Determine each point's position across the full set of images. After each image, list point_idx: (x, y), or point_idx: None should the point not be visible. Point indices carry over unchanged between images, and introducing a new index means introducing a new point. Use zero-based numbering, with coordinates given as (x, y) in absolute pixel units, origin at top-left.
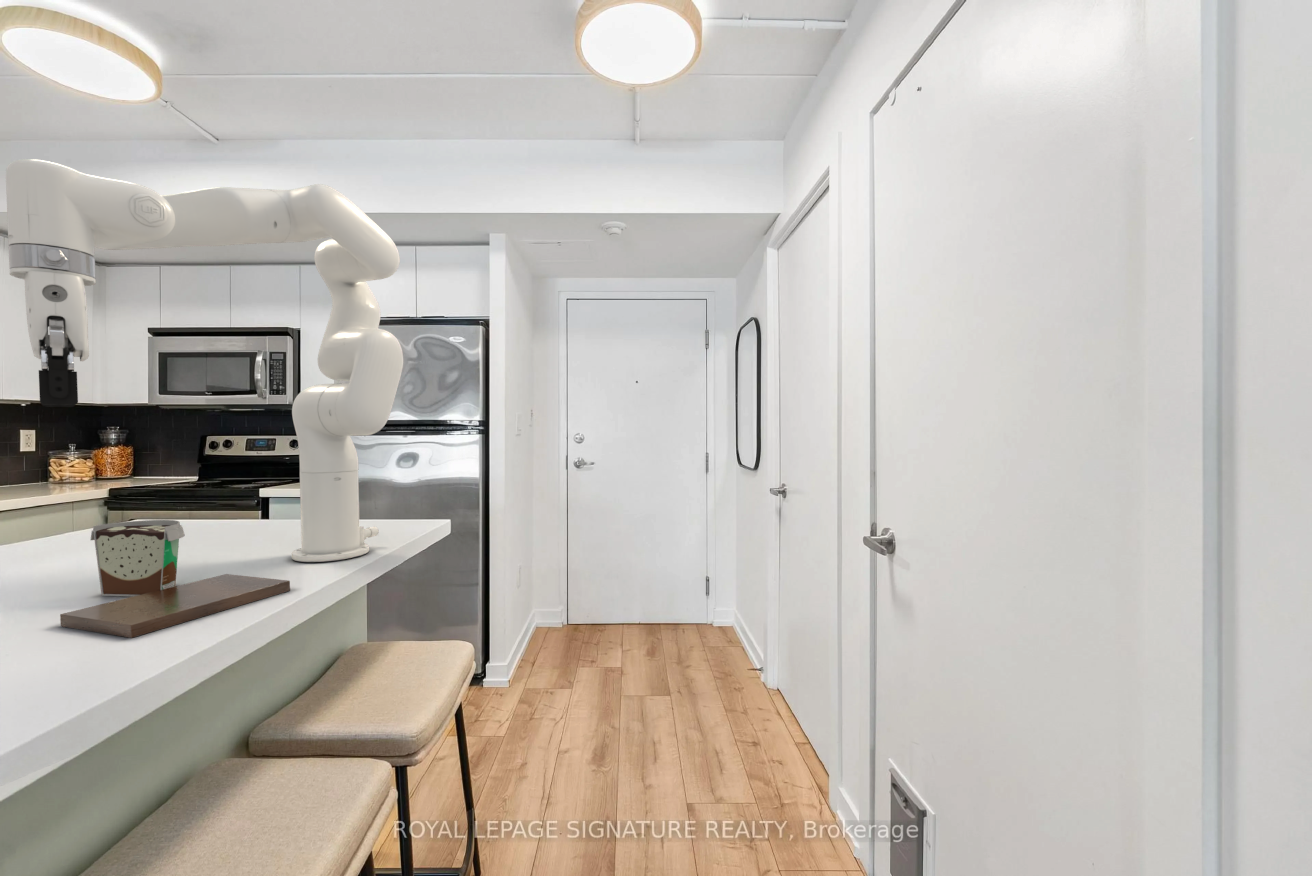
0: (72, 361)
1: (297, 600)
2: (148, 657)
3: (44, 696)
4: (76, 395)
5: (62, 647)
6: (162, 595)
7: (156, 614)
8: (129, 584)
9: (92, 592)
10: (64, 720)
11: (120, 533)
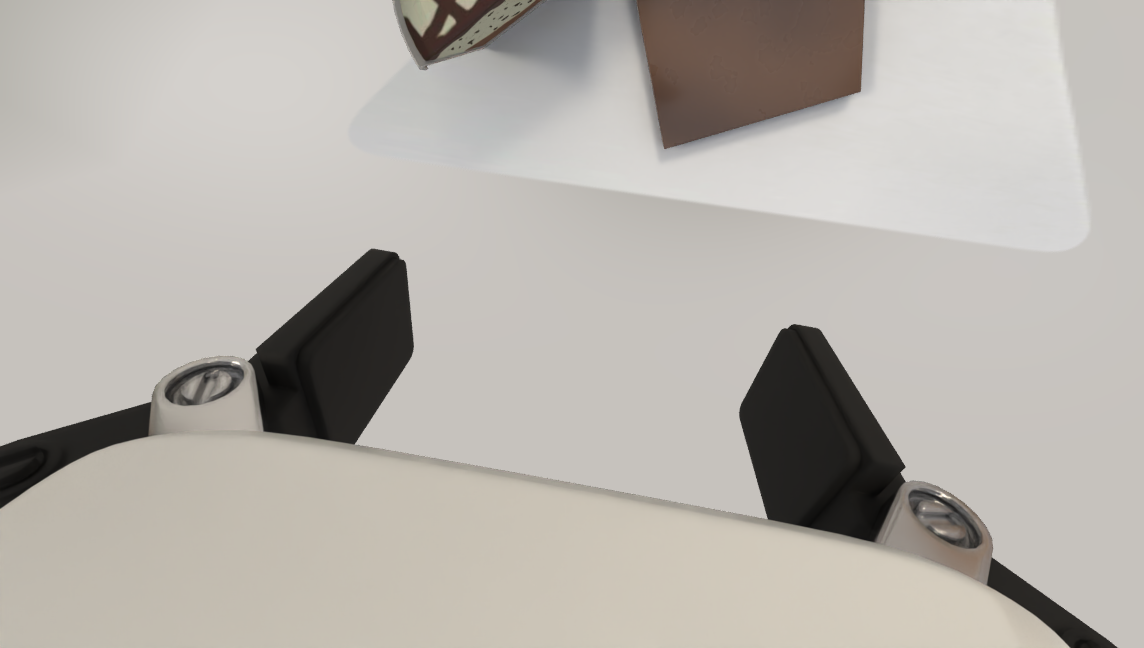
0: (983, 561)
1: None
2: (983, 99)
3: (979, 216)
4: (829, 355)
5: (789, 165)
6: None
7: (838, 40)
8: (529, 7)
9: None
10: (1087, 219)
11: (482, 16)
